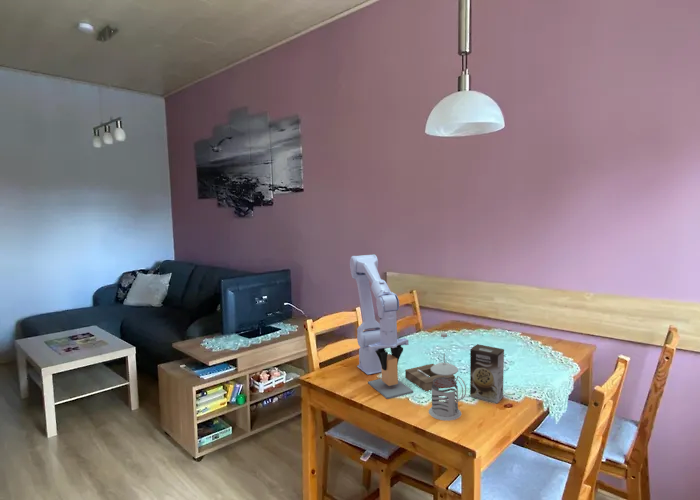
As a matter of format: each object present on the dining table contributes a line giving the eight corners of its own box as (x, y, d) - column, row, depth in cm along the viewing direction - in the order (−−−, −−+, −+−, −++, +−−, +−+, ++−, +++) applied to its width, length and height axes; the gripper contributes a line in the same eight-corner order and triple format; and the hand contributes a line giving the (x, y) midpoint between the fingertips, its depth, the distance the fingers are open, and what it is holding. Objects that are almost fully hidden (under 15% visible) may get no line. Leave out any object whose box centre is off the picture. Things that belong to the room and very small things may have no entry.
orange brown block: (381, 380, 153) (381, 355, 152) (390, 378, 154) (389, 353, 153) (388, 385, 148) (388, 360, 147) (397, 383, 150) (397, 358, 149)
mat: (367, 383, 156) (367, 381, 156) (392, 377, 160) (392, 375, 160) (387, 399, 143) (387, 397, 143) (413, 392, 147) (413, 390, 147)
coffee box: (469, 397, 142) (469, 349, 140) (476, 389, 148) (476, 343, 146) (497, 404, 137) (497, 354, 135) (504, 396, 142) (504, 348, 140)
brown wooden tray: (405, 377, 159) (405, 368, 159) (433, 371, 164) (432, 362, 164) (425, 391, 147) (425, 381, 147) (454, 384, 152) (454, 374, 152)
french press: (439, 401, 140) (438, 325, 137) (473, 413, 132) (472, 332, 129) (422, 413, 133) (420, 333, 130) (456, 426, 125) (455, 341, 122)
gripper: (374, 336, 142) (376, 376, 144) (412, 329, 148) (413, 367, 150) (365, 330, 149) (366, 369, 150) (402, 324, 155) (403, 361, 156)
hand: (389, 368), depth 151 cm, fingers closed on orange brown block, 3 cm apart
